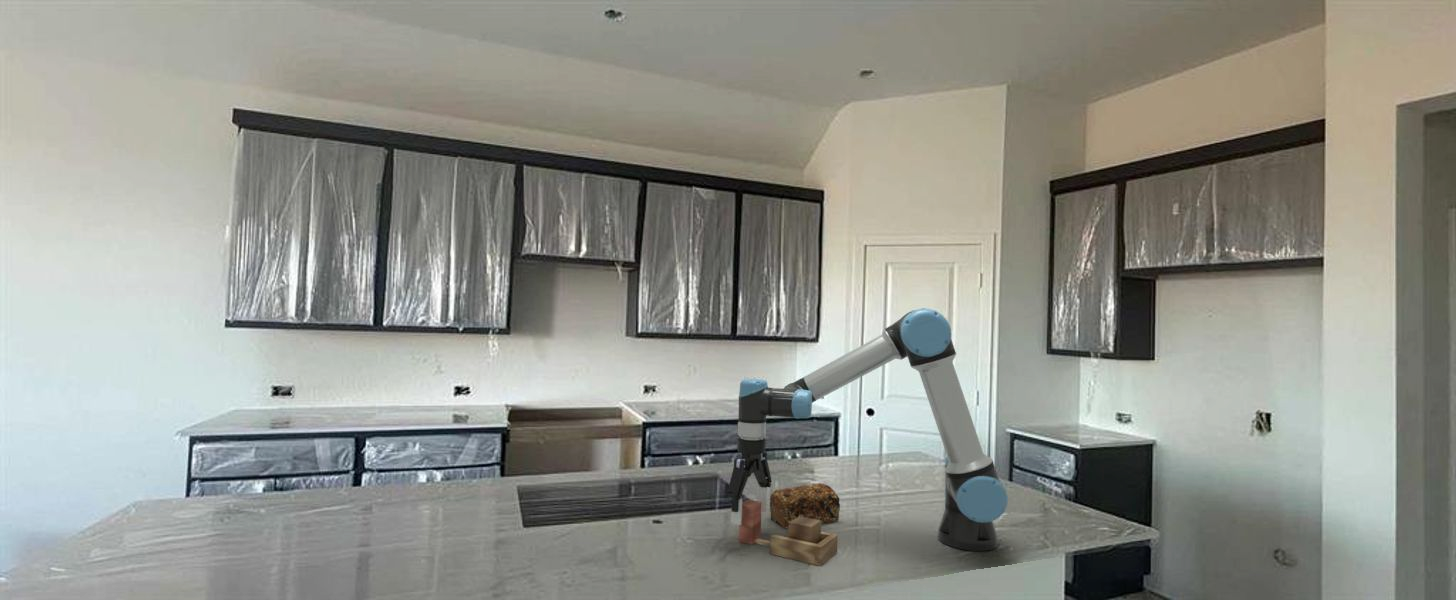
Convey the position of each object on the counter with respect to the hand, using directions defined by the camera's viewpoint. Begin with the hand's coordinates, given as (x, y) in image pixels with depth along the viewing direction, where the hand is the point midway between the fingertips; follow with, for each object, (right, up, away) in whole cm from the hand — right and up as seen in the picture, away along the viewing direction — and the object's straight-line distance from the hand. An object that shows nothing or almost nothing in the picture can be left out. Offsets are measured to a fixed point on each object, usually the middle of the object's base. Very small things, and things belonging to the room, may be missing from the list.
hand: (749, 517), depth 170 cm
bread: (+17, -7, +18) cm, 26 cm away
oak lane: (+13, -6, -8) cm, 16 cm away
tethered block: (+7, -6, -5) cm, 11 cm away
